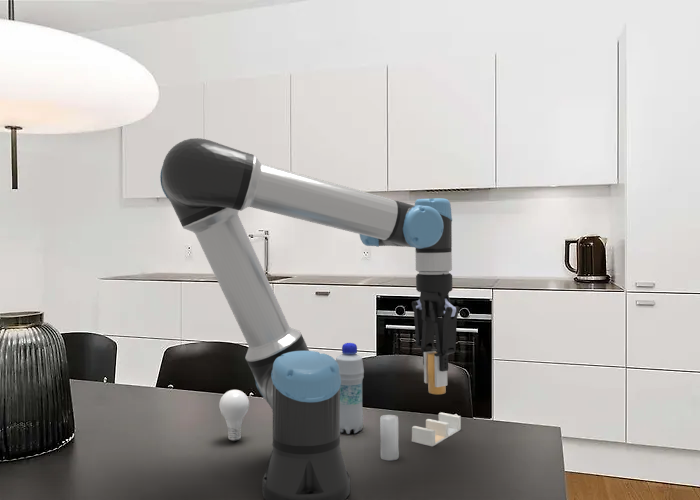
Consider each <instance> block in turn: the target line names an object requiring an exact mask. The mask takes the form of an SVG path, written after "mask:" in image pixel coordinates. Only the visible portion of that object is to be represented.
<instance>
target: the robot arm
mask: <svg viewBox="0 0 700 500" xmlns="http://www.w3.org/2000/svg"><path fill="white" fill-rule="evenodd" d="M162 163H163V164H162V166H161V169H160V176H159V178H160V186H161V189H162V192H163V193H164V195H165V197H166V198H167V200H169V202H170V204H171V205H172V209H173V210H174V212H175V214H176V216H177V218H178V221H179V222H180V225H181V226H182V228H183V229H184V230H187V231H189V232H192V233H194V234H195V236H196V238H197V241H198V242H199V244H200V248H201V249H202V251H203V253H204V255H205V257H206V259H207V261H208V264H209V266H210V268H211V270H212V272H213V274H214V276H215V279H216V281H217V283H218V284H219V287H220V289H221V291H222V293H223V295H224V297H225V300H226V301H227V303H228V306H229V308H230V310H231V312H232V315H234V318H235V320H236V322H237V325H238V327H239V329H240V331H241V333H242V335H243V337H244V339H245V341H246V344H247V347H248V348H247V352H246V354H245V361H246V363H247V364H248V367H249V368H250V370H251V374H252V375H253V377H254V380H255V386H256V388H257V391H259V394H260V395H261V396H262V398H264V399H265V401H266V402H267V404H268V405H269V407H270V408H271V410H272V449H271V453H270V455H269V459H268V462H267V465H266V469H265V470H266V471H265V473H264V475H263V478H262V497H263V498H264V499H265V500H346V499H347V498H348V497H349V495H350V492H351V486H350V485H351V479H350V474H349V472H348V471H347V467H346V463H345V459H344V456H343V453H342V449H341V439H340V438H341V437H340V434H341V432H340V384H341V377H340V371H339V365H338V363H337V361H336V358H334V357H332V356H331V355H329V354H327V353H320V352H318V351H316V350H310V349H309V347H308V345H307V343H306V341H305V338H304V337H303V335H302V332H301V330H298V329H296V328H292V327H291V326H290V325H289V323H288V321H287V319H286V316H285V313H284V312H283V310H282V308H281V305H280V303H279V301H278V299H277V297H276V295H275V292H274V290H273V288H272V286H271V284H270V282H269V279H268V277H267V275H266V273H265V270H264V268H263V266H262V264H261V261H260V260H259V258H258V254H257V253H256V251H255V249H254V246H253V244H252V242H251V241H250V238H249V236H248V234H247V232H246V231H247V230H246V228H245V227H244V225H243V223H242V220H241V218H240V216H239V211H243V210H245V209H247V208H252V209H257V210H262V211H266V212H269V213H273V214H277V215H281V216H285V217H289V218H293V219H297V220H301V221H305V222H309V223H314V224H317V225H320V226H321V225H322V226H326V227H329V228H330V227H331V228H334V229H338V230H342V231H346V232H350V233H353V234H358V235H359V238H360V241H361V243H362V245H364V246H367V247H378V248H379V247H407V248H415V271H417V274H416V275H415V286H416V287H415V288H416V291H417V292H419V293H420V295H419V299H418V300H413V301H412V302H411V307H412V310H413V317H414V318H413V319H414V335H415V345H416V347H417V348H420V350H421V351H422V365H423V383H425V384H428V354H429V353H434V362H435V387H441V386H448V370H449V355H451V354H455V353H456V352H457V351H456V348H457V347H456V345H457V327H458V326H457V325H458V323H457V322H458V315H459V312H460V307H459V306H458V305H456V306H454V305H453V304H452V303H451V299H450V296H449V293H450V292H451V291H453V274H452V273H451V272H452V271H453V255H452V254H453V253H452V247H453V243H452V241H453V238H452V237H453V235H452V234H453V233H452V231H453V230H452V225H453V224H452V222H453V217H452V216H453V215H452V207H451V202H450V200H449V199H447V198H443V197H442V198H441V197H440V198H439V197H437V198H436V197H435V198H417V199H416V200H415V202H414V205H413V204H410V203H407V202H403V201H398V200H394V199H393V198H389V197H385V196H381V195H378V194H373V193H371V192H366V191H363V190H359V189H356V188H353V187H349V186H346V185H341V184H338V183H334V182H330V181H327V180H323V179H321V178H320V179H319V178H317V177H313V176H309V175H306V174H305V175H304V174H301V173H298V172H294V171H290V170H287V169H284V168H279V167H276V166H273V165H269V164H267V163H266V164H265V163H261V162H260V161H259V159H258V158H257V156H256V155H255V154H252V153H249V152H245V151H241V150H239V149H237V148H236V149H235V148H234V147H230V146H227V145H224V144H222V143H219V142H216V141H213V140H210V139H205V138H199V137H198V138H194V137H193V138H188V139H184V140H182V141H180V142H178V143H176V144H175V145H174V146H173V147H171V149H170V150H169V151H168V152H167V153H166V155H165V157H164V160H163V162H162ZM434 343H435V344H434ZM434 345H435V346H434ZM435 352H437V353H435Z"/></svg>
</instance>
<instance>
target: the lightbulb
mask: <svg viewBox="0 0 700 500" xmlns="http://www.w3.org/2000/svg"><path fill="white" fill-rule="evenodd" d="M218 406H219V407H218V408H219V411H220V414H221V415H222V417H223V418H224V420H225V424H226V426H227V431H228V432H227V435H228V436H227V437H228V438H227V439H228V440H230V441H232V442H237V441H239V440H240V439H242V434H241V433H242V432H241V431H242V430H241V429H242V425H243V421H244V418H245V416H246V415H247V413H248V411H249V408H250V400H249V397H248V396H247V394H246V393H244V392H243V390H239V389H230V390H227V391H226V392H225V393H224V394H223V395H222V396H221V398H220V399H219V403H218Z"/></svg>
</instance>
